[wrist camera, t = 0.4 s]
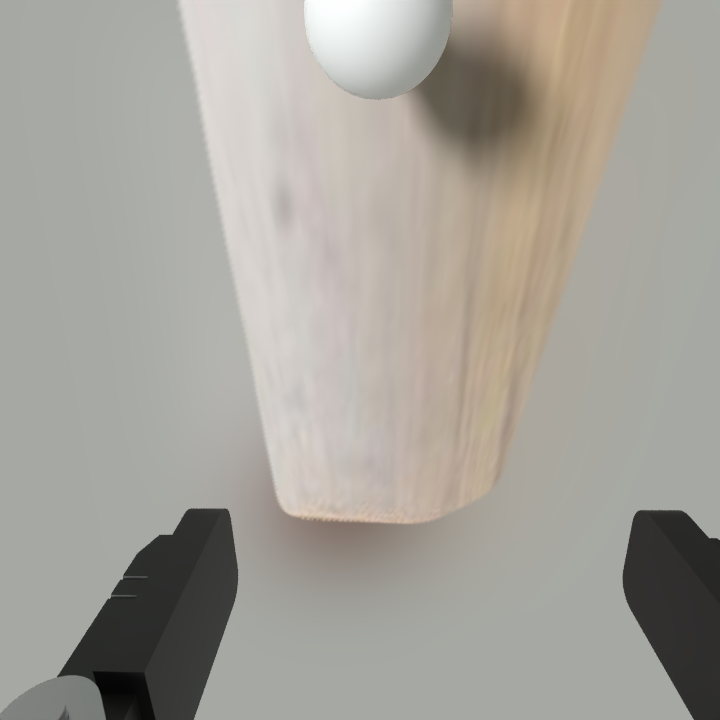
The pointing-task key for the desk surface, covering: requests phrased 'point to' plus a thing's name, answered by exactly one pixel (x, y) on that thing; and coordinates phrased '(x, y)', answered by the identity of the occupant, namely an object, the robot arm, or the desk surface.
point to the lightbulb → (377, 42)
